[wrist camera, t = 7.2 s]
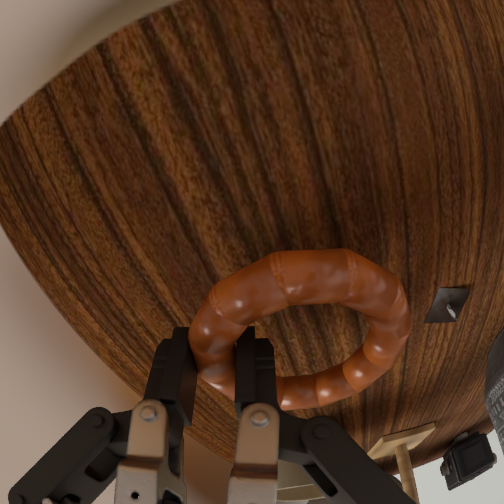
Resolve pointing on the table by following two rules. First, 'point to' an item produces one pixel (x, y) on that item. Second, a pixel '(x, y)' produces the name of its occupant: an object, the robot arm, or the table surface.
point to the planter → (496, 386)
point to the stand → (403, 454)
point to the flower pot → (294, 484)
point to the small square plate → (447, 305)
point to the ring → (303, 293)
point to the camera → (467, 459)
